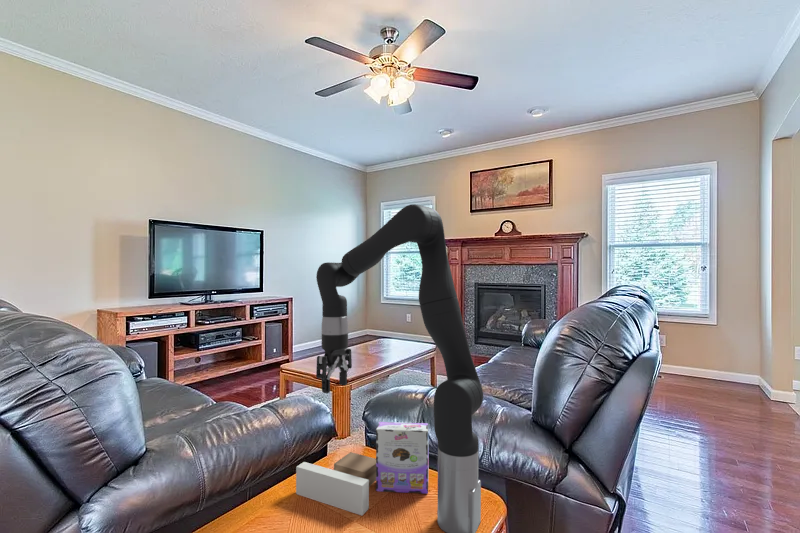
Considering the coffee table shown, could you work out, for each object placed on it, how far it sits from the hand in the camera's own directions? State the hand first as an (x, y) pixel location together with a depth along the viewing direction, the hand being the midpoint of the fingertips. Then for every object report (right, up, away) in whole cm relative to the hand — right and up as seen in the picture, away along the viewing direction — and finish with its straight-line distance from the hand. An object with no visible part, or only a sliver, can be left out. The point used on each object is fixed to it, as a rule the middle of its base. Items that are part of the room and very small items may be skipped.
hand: (334, 388), depth 114 cm
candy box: (+19, -24, -8) cm, 32 cm away
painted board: (+1, -24, -15) cm, 28 cm away
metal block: (+7, -24, -4) cm, 25 cm away
